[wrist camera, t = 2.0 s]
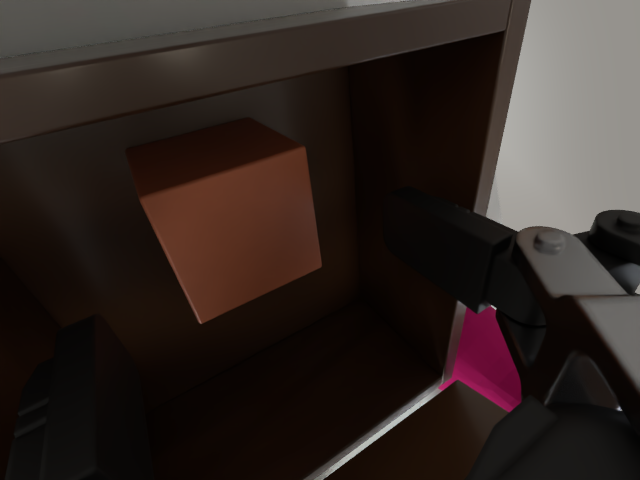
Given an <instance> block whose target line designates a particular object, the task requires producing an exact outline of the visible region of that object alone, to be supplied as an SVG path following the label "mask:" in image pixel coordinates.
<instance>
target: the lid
mask: <svg viewBox="0 0 640 480" xmlns="http://www.w3.org/2000/svg"><path fill="white" fill-rule="evenodd" d="M508 413H509V412H508V411H506V410H505V409H503V408H502V407H500V406H498V405H497V404H495V403H494V402H492V401H491V400H489V399H488V398H486V397H484V396H483V395H481V394H480V393H478V392H477V391H475V390H474V389H472V388H471V387H469V386H467V385H466V384H464V383H463V382H461V381H460V380H456V381H455V382H453V383H452V384H451V385H449V386H448V387H447V388H445V389H444V390H443V391H441V392H440V393H439V394H437V395H436V396H435V397H433V398H432V399H431V400H429V401H428V402H427V403H425V404H424V405H423V406H421V407H420V408H419V409H417V410H416V411H414V412H413V413H412V414H410V415H409V416H408V417H406V418H405V419H404V420H402V421H401V422H400V423H398V424H397V425H396V426H394V427H393V428H392V429H390V430H389V431H388V432H386V433H385V434H384V435H382V436H381V437H380V438H378V439H377V440H376V441H374V442H373V443H372V444H370V445H369V446H368V447H366V448H365V449H364V450H362V451H361V452H360V453H358V454H357V455H356V456H354V457H353V458H352V459H350V460H349V461H348V462H346V463H345V464H344V465H342V466H341V467H339V468H338V469H337V470H335V471H334V472H333V473H331V474H330V475H329V476H327V477H326V478H325V479H323V480H464V479H465V478H466V477H467V475H468V474H469V472H470V470H471V468H472V467H473V465H474V463H475V461H476V459H477V457H478V455H479V453H480V451H481V449H482V448H483V446H484V444H485V442H486V440H487V438H488V436H489V434H490V432H491V430H492V429H493V427H494V425H495V424H497V423H498V422H499V421H500V420H501V419H502V418H503V417H505V416H506V415H507V414H508Z"/></svg>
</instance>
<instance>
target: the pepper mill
mask: <svg viewBox="0 0 640 480" xmlns="http://www.w3.org/2000/svg"><path fill="white" fill-rule="evenodd" d="M495 313H496V310H495V309H494V308H492V307H491V306H489V307H488V308H486V309H485V310H483V311H482V312H480V313H479V314H476V313H475V312H473V311H472V310H470V309H469V308H468V307H467V308H466V313H465V317H464V322H463V327H462V332H461V336H460V341H459V346H458V351H457V355H456V360H455V365H454V370H453V374H452V378H451V379H449V380H448V381H446V382H445V383H444V384H441V386H440V387H438V389H440V390H442V391H443V390H444V389H445V388H447V387H448V386H449V385H451V384H452V383H453V382H455V381H456V380H460V381H461V382H463V383H464V384H466V385H467V386H469V387H471V388H472V389H474V390H475V391H477V392H478V393H480V394H481V395H483V396H484V397H486V398H488V399H489V400H491V401H492V402H494V403H495V404H497V405H498V406H500V407H502V408H503V409H505V410H506V411H508V412H510V411H512V410H513V409H514V408H515V407H516V406H517V405H518V404H520V403H521V383H520V378H519V374H518V372H517V369H516V367H515V364H514V362H513V360H512V357H511V355H510V352H509V350H508V347H507V345H506V342H505V340H504V337H503V335H502V333H501V330H500V328H499V325H498V323H497V320H496V317H495Z"/></svg>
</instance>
